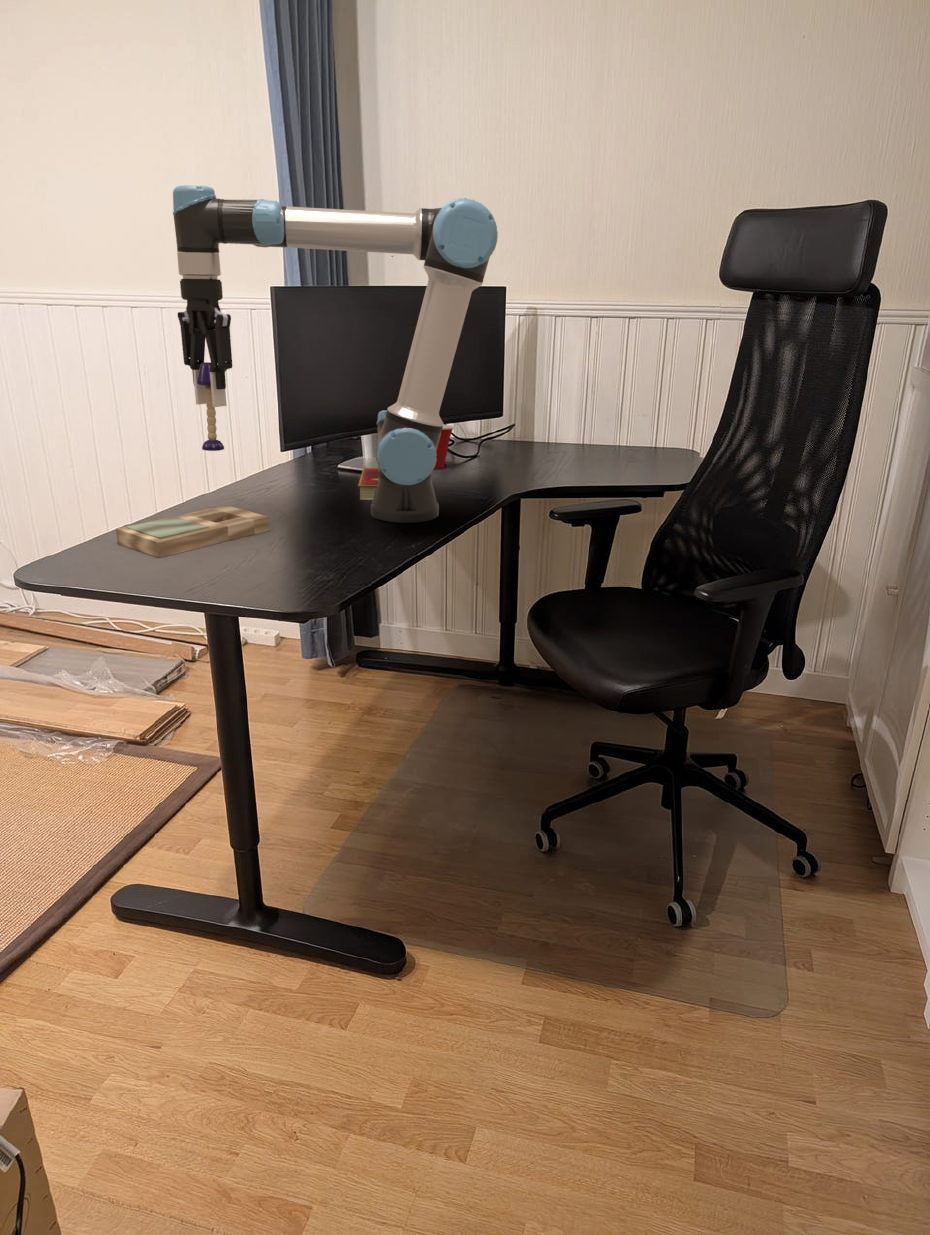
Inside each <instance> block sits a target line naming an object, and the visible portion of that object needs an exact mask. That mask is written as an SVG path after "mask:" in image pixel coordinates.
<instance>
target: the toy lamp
mask: <svg viewBox="0 0 930 1235" xmlns="http://www.w3.org/2000/svg"><path fill="white" fill-rule="evenodd" d="M210 369H212V365H211V361H210V362H207V361H206V362H205V361H204V363H201V365H200V370H199V375H198V380H197V383H198V384H199V385H205V390H206V392H207V393H206V399H207V402H206V404H205V405H206V408H207V409H206V416H207V418H206V422H207V426H206V427H207V440H206V441H204V442H203V444H202V447H201V450H202V451H206V452H207V451H208V452H216V451H219V452H220V451H223V450H225V446H224V444H223V442H221V440H219V439H217V438H218V437H217V436H218V434H217V426H216V423H217V418H216V415H217V412H216V407H213V405H212V393H211V381H210Z"/></svg>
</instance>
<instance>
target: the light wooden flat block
mask: <svg viewBox="0 0 930 1235" xmlns="http://www.w3.org/2000/svg"><path fill="white" fill-rule="evenodd" d="M115 532H116V533H115V534H116V542H117V544H119V545H121V546H124V547H127V548H129V549H132V550H135V551H138V552H141V553H144V554H147V555H149V556H153V557H155V558H159V559H160V558H165V557H167V556H168V557H170V556H172V555H176V554H181V553H184V552H189V551H193V550H197V549H201V548H205V547H208V546H212V545H216V544H221V543H225V542H229V541H233V540H236V539H238V540H239V539H241V538H245V537H250V536H254V535H257V534H261V533H265V532H270V520H269V516H268V515H264V514H260V513H256V512H252V511H248V510H246V509H241V508H237V507H234V506H230V505H222V506H216V507H211V508H206V509H202V510H197V511H193V512H188V513H182V514H178V515H174V516H169V517H164V518H160V519H155V520H150V521H145V522H140V523H135V524H131V525H127V526H123V527H117V528H115Z"/></svg>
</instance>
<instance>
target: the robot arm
mask: <svg viewBox="0 0 930 1235" xmlns="http://www.w3.org/2000/svg"><path fill="white" fill-rule="evenodd" d="M172 201H173V202H172V203H173V204H172V208H173V211H172V215H173V222H174V231H175V238H176V251H177V252H176V255H177V264H178V265H177V266H178V275H180V276H182V278H180V280H179V285H180V286H179V288H180V296H181V297H180V298H181V299H182V300H184V301H186V309H185V310H184V311H178V312H177V319H178V321H179V325H180V335H181V345H182V356H183V363H184V365H185V366H188V367H189V368H190V370H192V373H191V374H192V378H193V379H192V381H193V386H194V397H195V405H206V402H207V399H206V393H207V392H206V390H205V385H199V384H198V383H197V380H198V375H199V370H200V365H201V363H204V362H205V354H206V353H205V352H206V346H207V351H208V355H209V360H210V362H211V365H212V369H210V381H211V393H212V405H213V407H215V408H219V407H226V406H227V394H226V388H227V383H226V382H227V381H226V371H227V370H229V369H232V368H233V356H232V355H233V354H232V340H231V320H232V316H231V314H227V313H223V312H222V311H221V307H220V304H219V301H221V300H222V299H223V298H224V297H223V285H222V284H223V283H222V281H221V279H218V278H219V277H220V276H221V275H222V274H221V273H222V272H221V262H220V260H221V259H220V249H219V248H220V244H224V245H225V244H227V245H228V244H230V245H233V244H235V245H253V246H254V247H257V248H289V249H290V248H293V249H306V250H307V249H309V250H310V249H311V250H328V251H342V252H343V251H346V252H362V253H363V252H365V253H381V254H382V253H383V254H384V253H385V254H396V255H397V254H399V255H413V256H414V257H415V258H416V260H418V261H424V263H423V269H424V271H425V273H426V274H427V277H428V280H427V284H426V288H425V292H424V296H423V300H422V302H421V303H422V304H421V308H420V310H419V311H420V312H419V314H418V320H417V323H416V326H415V331H414V335H413V338H412V342H411V346H410V350H409V353H408V358H407V362H406V366H405V369H404V370H405V371H404V374H403V377H402V382H401V386H400V389H399V393H398V396H397V401H396V402H395V403H393V404H392V405H390V406H388V407H387V410H385V409H384V410H383V409H382V410H381V411H379V412H378V414H377V421H376V426H377V447H376V451H375V453H376V454H375V457H376V458H375V459H376V463H377V468H378V484H377V487H376V490H375V494H374V499H373V500H371V504H370V515H371V517H372V518H374V519H376V520H379V521H383V522H384V521H385V522H389V523H400V524H401V523H402V524H403V523H405V524H406V523H408V524H409V523H411V524H412V523H422V522H427V521H431V520H434V519H436V518H438V517H439V514H440V512H439V511H440V506H439V505H440V504H439V502H438V501H437V498H436V494H435V489H434V486H433V482H432V472H433V470H435V469H434V467H435V464H436V460H437V459H436V456H437V453H436V450H437V447H438V443H439V439H440V436H441V432H442V428H443V425H444V422H443V420H442V418H441V416H440V409H441V406H442V403H443V399H444V395H445V392H446V388H447V385H448V380H449V377H450V373H451V370H452V366H453V362H454V358H455V356H456V355H455V354H456V351H457V347H458V344H459V341H460V338H461V334H462V329H463V326H464V322H465V318H466V315H467V311H468V308H469V303H470V300H471V296H472V292H473V291H474V290H476V289H478V288H479V287H482V285H483V283H484V279H485V275H486V271H487V268H488V266H489V262H490V258H491V256H492V255H493V253H494V251H495V250H496V247H497V243H498V238H499V236H498V227H497V226H498V225H497V223H496V220H495V218H494V216H493V214H492V213H491V210H489V209H488V208H487V207H486V206H485V205H484V204H482V203H481V202H479V201H477V200H475V199H471V198H469V199H468V198H465V197H464V198H456V199H453V200H451V201H449V202H447V203H446V204H445V205H444V206H442V207H438V208H427V207H426V208H424V207H420V208H418V209H417V210H416V211H415V212H412V213H411V212H393V211H377V210H376V211H375V210H359V209H339V208H323V207H322V208H321V207H305V206H304V207H302V206H288V205H287V206H285V205H282V204H281V203H280V202H279V201H277V200H269V199H268V200H267V199H263V198H260V199H224V198H217V195H216V193H215V189H214V188H213V187H210V186H207V185H206V186H205V185H191V184H190V185H186V184H185V185H178V186H176V187H174V188H173V190H172Z"/></svg>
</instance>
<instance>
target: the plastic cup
mask: <svg viewBox="0 0 930 1235" xmlns="http://www.w3.org/2000/svg"><path fill="white" fill-rule="evenodd" d="M454 429H455V426H453V425H451V424H450V425H449V424H443V428H442V432H441V436H440V439H439V443H438V447H437V450H436V453H437V456H436V459H437V460H436V464H435V467H434V469H433V470H441V469H444V468H445V466H446V459H447V455H448V450H449V443H450V438H451V434H452V432H453V430H454Z"/></svg>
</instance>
